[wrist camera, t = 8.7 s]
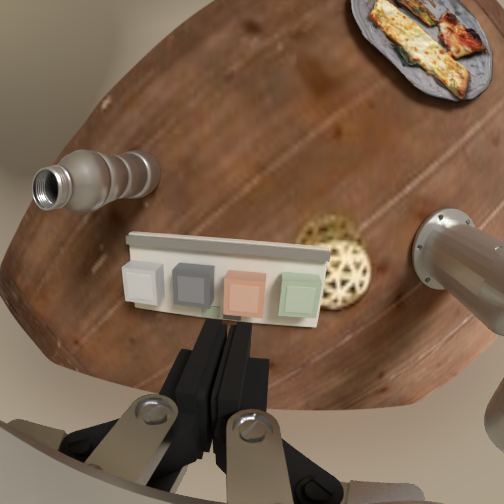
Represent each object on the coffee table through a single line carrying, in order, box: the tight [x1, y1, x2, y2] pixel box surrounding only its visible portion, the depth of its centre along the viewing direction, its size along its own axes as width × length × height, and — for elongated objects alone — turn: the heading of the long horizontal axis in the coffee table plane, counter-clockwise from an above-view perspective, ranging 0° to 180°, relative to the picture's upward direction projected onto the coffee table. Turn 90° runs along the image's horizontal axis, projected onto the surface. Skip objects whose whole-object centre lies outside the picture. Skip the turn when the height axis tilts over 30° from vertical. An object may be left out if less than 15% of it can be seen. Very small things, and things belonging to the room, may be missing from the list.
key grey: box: [122, 260, 165, 306], centre depth 38 cm, size 5×5×3 cm
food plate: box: [351, 0, 493, 103], centre depth 26 cm, size 25×23×4 cm
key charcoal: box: [172, 262, 215, 309], centre depth 39 cm, size 5×5×3 cm
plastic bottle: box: [32, 150, 161, 214], centre depth 28 cm, size 6×7×20 cm
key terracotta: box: [223, 270, 267, 318], centre depth 37 cm, size 5×5×3 cm
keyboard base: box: [126, 231, 330, 327], centre depth 40 cm, size 28×12×2 cm, turn 86°
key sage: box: [278, 272, 322, 318], centre depth 38 cm, size 5×5×3 cm
